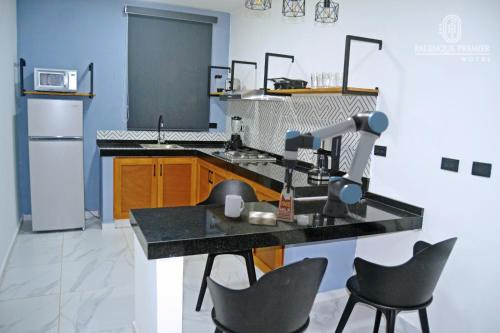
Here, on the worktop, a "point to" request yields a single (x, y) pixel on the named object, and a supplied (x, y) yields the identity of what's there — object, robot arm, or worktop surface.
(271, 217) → the podium
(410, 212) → the worktop surface
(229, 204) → the mug
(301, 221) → the white block
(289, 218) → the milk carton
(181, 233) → the worktop surface
